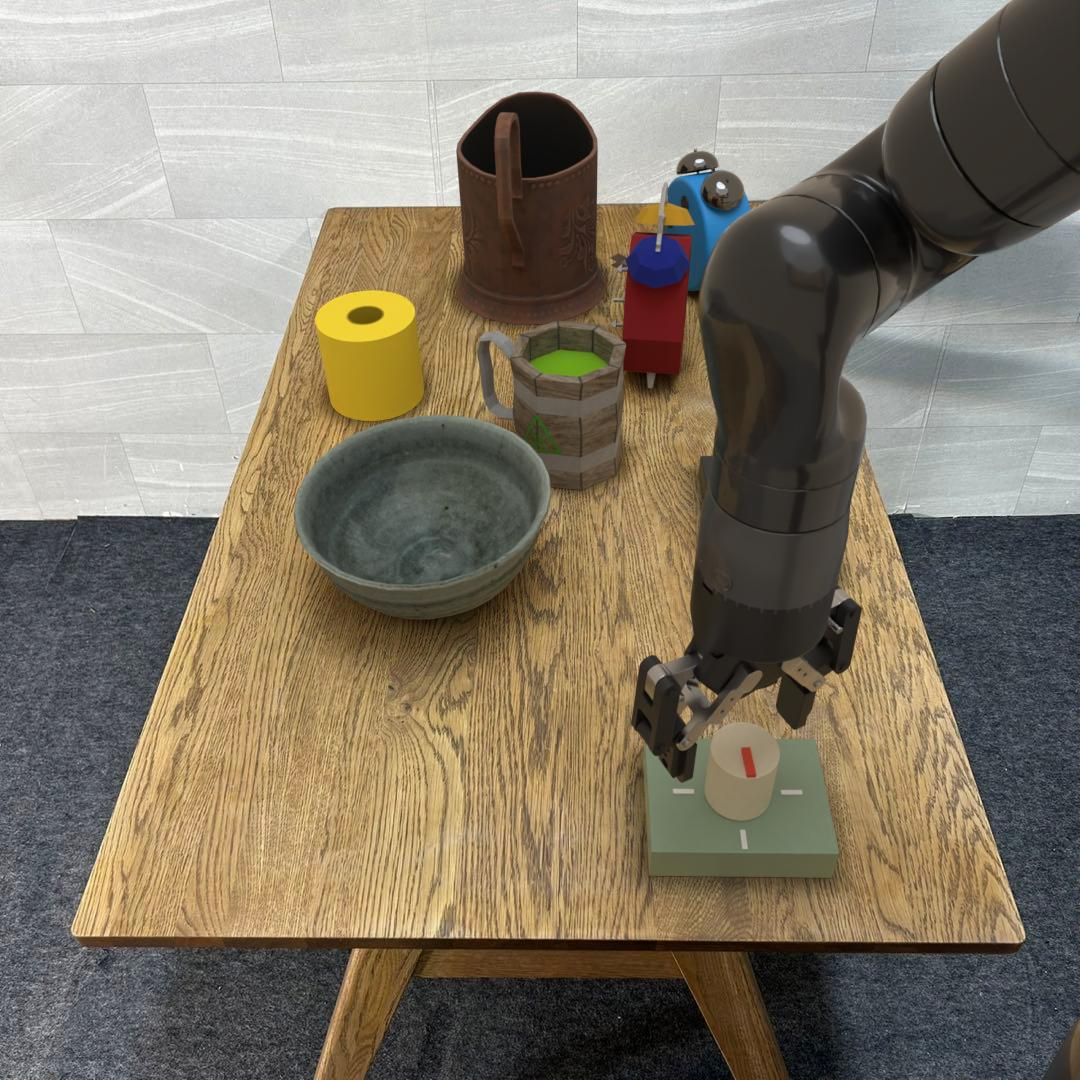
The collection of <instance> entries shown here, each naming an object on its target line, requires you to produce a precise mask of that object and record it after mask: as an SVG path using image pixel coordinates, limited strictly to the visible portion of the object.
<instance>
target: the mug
mask: <svg viewBox="0 0 1080 1080" xmlns="http://www.w3.org/2000/svg"><path fill="white" fill-rule="evenodd" d="M491 342H492V343H493V344H494V345H495V346H496V347H498V348H499V349H500V350H501V352H502V353H503V355H504V356H505V358H506V359H507V360H508V361H509V363H510V367H511V373H512V383H513V384H512V385H513V399H512V401H513V402H512V407H506V406H504V404H502V403H501V402H500V400H499V398H498V395H497V393H496V387H495V377H494V365H493V360H492V355H491V351H490V347H491V346H490V345H491ZM625 349H626V343H625V342H623V341H622V338H619V336H617V335H616V334H614V333H613V332H611V331H610V330H609V329H607V328H606V327H604V326H603V325H602V324H599V323H590V322H589V323H588V322H578V321H577V322H576V321H566V320H563V321H554V322H551V323H545V324H542V325H541V326H538V327H535V328H533V329H529V330H527V331H524V332H522V333H519V334H518V336H517V339H516V342H515V343H514V342H513V340H512V339H511V338H510V337H509V336H508V335H506V334H504V333H503V332H502V331H501V330H493V331H487V332H485V333H482V334H481V336H480V338H479V340H478V343H477V348H476V355H477V360H478V361H477V362H478V366H479V373H480V384H481V385H480V386H481V392H482V398H483V400H484V402H485V404H486V407H487V409H488V411H489V412H490V413H492V414H493V415H494V416H495V417H497V418H498V419H500V420H507V421H513V422H514V429H515V434H516V435H517V436H518V437H520V438H521V439H522V440H524V441H525V442H526V443H527V444H529V445H530V446H531V447H532V449H533V450H534V451H535V452H536V453H537V454H538V456H539V457H540V458H541V459H542V461H543V463H544V465H545V468H546V470H547V472H548V474H549V477H550V485H551V488H555V489H557V488H558V489H565V490H573V491H583V490H585V489H588V488H590V487H592V486H595V485H597V484H599V483H601V482H603V481H606V480H608V479H610V478H613V477H614V476H617V474H618V471H619V467H620V462H621V458H622V454H623V450H624V447H623V437H622V422H623V421H622V419H623V411H624V402H625V392H624V391H625V389H624V371H623V361H624V355H625Z"/></svg>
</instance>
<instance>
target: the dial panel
mask: <svg viewBox="0 0 1080 1080" xmlns="http://www.w3.org/2000/svg"><path fill="white" fill-rule="evenodd" d="M711 740H712V738H698V739H697V741H696V743H697V751H696V758H695V765H694V773H693V778H692V779H690V780H688V781H686V782H683V783H681V782H680V781H679V780H678V779H677V778H676V777H675V778H672V777H671V775H670V774H669V772H668V771H667V770H666V768H665V767H664V766H663V764H662V763H661V762H660V760H659V758H658V757H659V756H654V755H653V754H652V752H651V751H650V750H649V747H648V745H647V744H646V743H645V741H644V740H643V754H642V775H643V792H644V793H643V794H644V795H643V796H644V810H645V811H644V812H645V828H646V845H647V847H646V848H647V863H648V866H647V867H648V875H649V877H713V878H714V877H715V878H716V877H719V878H720V877H721V878H722V877H723V878H727V877H729V878H804V879H805V878H806V879H807V878H809V879H810V878H812V879H815V878H816V879H832V878H833V875H834V872H835V869H836V867H837V862H838V860H839V857H840V849H839V844H838V839H837V834H836V831H835V825H834V821H833V816H832V810H831V806H830V800H829V797H828V792H827V787H826V781H825V776H824V772H823V766H822V762H821V758H820V753H819V752H820V751H819V747H818V743H817V739H813V738H812V739H810V738H809V739H808V738H807V739H806V738H803V739H802V738H801V739H800V738H788V739H787V738H775V740H776V741H777V743H778V746H779V749H780V759H779V764H778V768H777V773H776V777H775V782H774V786H773V791H772V795H771V800H770V803H769V806H768V808H767V809H766V811H765V812H764V813H763V814H761V815H760V816H758V817H756V818H754V819H751V820H746V821H737V820H732V819H728V818H726V817H724V816H722V815H720V814H718V813H717V812H716V811H715V810H714V809H713V808H712V807H711V806H710V805H709V803H708V801H707V799H706V796H705V791H704V787H705V780H706V773H707V766H708V759H709V752H710V745H711Z"/></svg>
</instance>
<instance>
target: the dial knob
mask: <svg viewBox="0 0 1080 1080" xmlns="http://www.w3.org/2000/svg"><path fill="white" fill-rule="evenodd" d="M711 739H712V740H711V745H710V752H709V759H708V766H707V773H706V780H705V787H704V791H705V796H706V799H707V801H708V803H709V805H710V806H711V807H712V808H713V809H714V810H715V811H716V812H717V813H718V814H720V815H722V816H724V817H726V818H728V819H732V820H737V821H746V820H751V819H754V818H756V817H758V816H760V815H761V814H763V813H764V812H765V811H766V809H767V808H768V806H769V803H770V800H771V795H772V791H773V786H774V782H775V777H776V773H777V768H778V764H779V759H780V749H779V746H778V743H777V741H776V740H775V739H776V738H775V737H774V736H773V735H772V734H771V733H770V732H769V731H768V730H767V729H765V728H763V727H762V726H760V725H758V724H754V723H751V722H745V721H737V722H732V723H728V724H725V725H723V726H721V727H720V728H719V729H718V730H717V731H716V732H714V734H713V736H712V738H711Z"/></svg>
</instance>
